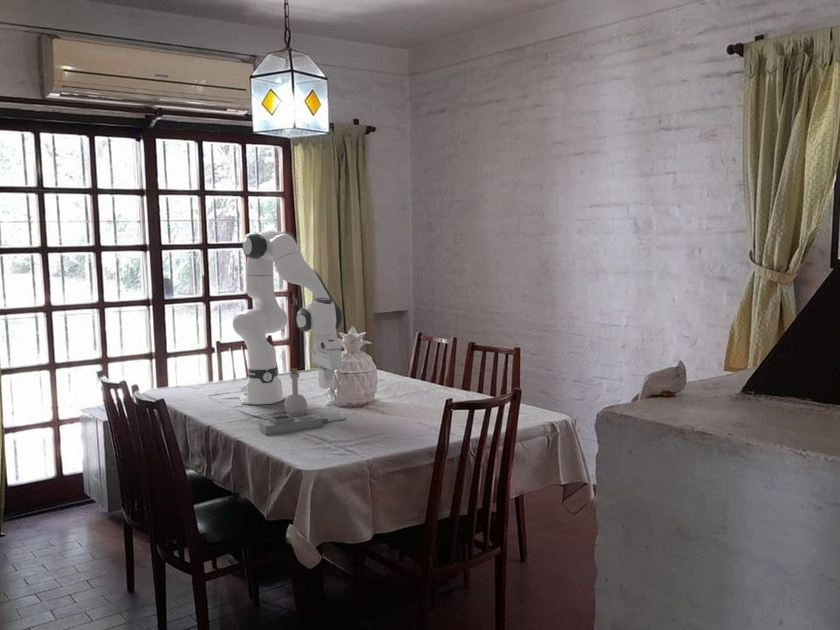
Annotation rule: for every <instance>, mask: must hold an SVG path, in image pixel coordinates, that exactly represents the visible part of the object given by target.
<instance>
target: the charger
mask: <svg viewBox="0 0 840 630" xmlns="http://www.w3.org/2000/svg"><path fill="white" fill-rule="evenodd" d="M327 375H328V371H327V368H320V370H319V369H318V386H319V388H320V389H323V390H326V389H335V388H336V380H335V379H336V378H335V375H336V374H335V372H334V373H333V380H331V381H329V380H327Z"/></svg>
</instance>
